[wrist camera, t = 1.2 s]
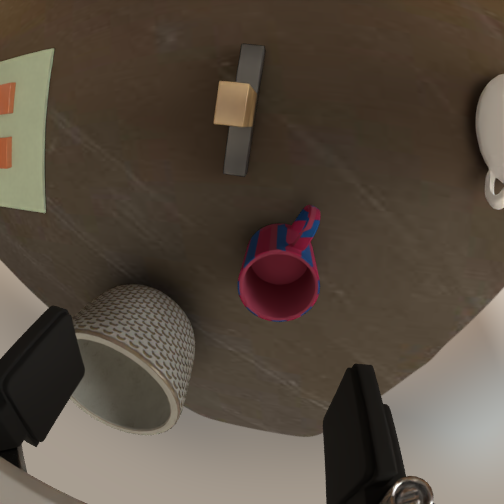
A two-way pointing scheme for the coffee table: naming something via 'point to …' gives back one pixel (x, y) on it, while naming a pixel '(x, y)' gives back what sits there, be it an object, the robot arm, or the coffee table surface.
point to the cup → (281, 269)
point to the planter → (134, 359)
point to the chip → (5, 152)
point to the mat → (26, 130)
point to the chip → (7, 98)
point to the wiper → (240, 108)
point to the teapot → (492, 136)
